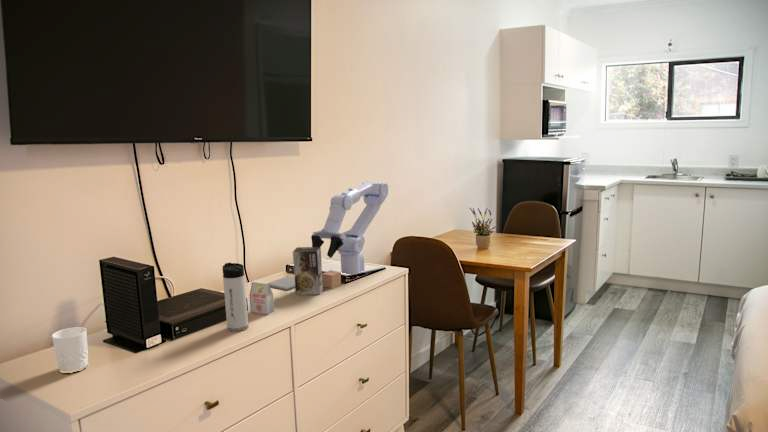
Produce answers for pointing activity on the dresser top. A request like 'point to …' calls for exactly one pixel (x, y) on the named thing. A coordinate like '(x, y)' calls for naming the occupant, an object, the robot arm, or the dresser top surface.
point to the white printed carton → (261, 298)
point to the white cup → (71, 348)
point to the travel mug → (235, 296)
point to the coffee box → (308, 270)
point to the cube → (331, 279)
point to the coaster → (283, 283)
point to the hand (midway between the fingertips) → (321, 255)
